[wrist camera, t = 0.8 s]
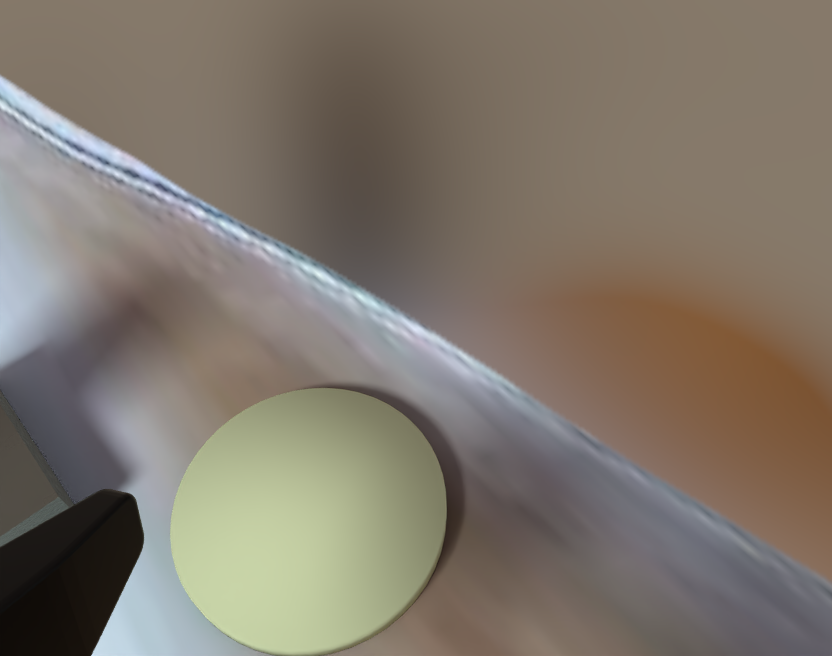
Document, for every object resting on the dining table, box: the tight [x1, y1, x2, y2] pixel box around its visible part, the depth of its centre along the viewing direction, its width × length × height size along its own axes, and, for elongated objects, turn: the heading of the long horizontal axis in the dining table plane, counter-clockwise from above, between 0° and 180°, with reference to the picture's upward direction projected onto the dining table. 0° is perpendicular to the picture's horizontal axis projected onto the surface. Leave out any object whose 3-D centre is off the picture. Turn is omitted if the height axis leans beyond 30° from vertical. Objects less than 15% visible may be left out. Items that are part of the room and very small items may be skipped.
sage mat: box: [170, 388, 447, 656], centre depth 26 cm, size 10×10×1 cm
